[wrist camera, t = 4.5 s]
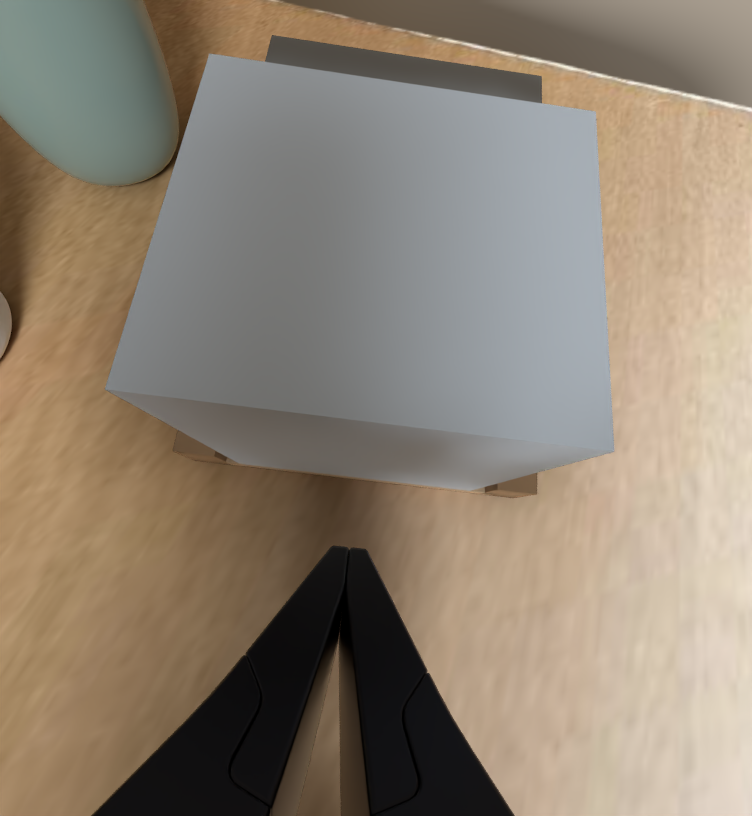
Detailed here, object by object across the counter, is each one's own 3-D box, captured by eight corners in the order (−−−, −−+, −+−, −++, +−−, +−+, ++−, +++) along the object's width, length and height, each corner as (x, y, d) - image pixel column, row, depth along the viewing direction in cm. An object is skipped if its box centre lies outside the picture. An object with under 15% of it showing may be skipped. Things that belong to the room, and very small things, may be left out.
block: (469, 490, 18) (614, 451, 8) (238, 463, 17) (105, 389, 8) (478, 307, 20) (595, 111, 11) (276, 280, 20) (209, 53, 10)
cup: (40, 114, 23) (-185, -186, 13) (181, 87, 24) (70, -206, 14) (62, 227, 21) (-181, -26, 11) (214, 192, 22) (112, -64, 12)
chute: (513, 497, 19) (544, 493, 16) (195, 460, 18) (165, 448, 15) (519, 128, 25) (541, 76, 22) (281, 93, 24) (271, 34, 21)
